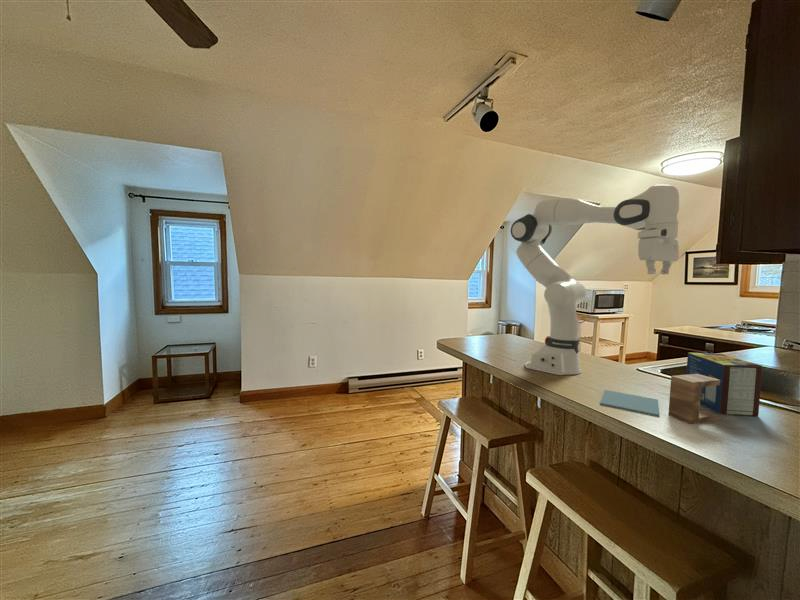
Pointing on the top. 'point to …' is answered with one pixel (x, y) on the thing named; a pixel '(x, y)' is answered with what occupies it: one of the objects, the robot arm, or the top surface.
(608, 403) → the rubber mat
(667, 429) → the top surface
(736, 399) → the protein box
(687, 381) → the brown block
